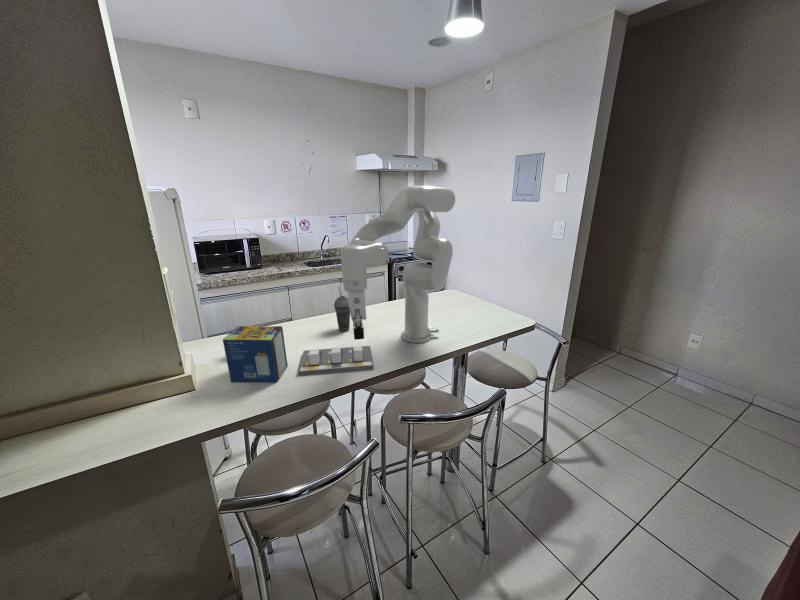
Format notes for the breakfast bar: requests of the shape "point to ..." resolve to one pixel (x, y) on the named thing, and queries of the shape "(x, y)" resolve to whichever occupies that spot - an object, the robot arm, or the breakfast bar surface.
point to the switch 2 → (358, 354)
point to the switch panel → (329, 367)
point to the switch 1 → (314, 357)
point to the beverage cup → (342, 313)
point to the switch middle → (336, 355)
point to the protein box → (255, 354)
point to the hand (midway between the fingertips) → (358, 332)
